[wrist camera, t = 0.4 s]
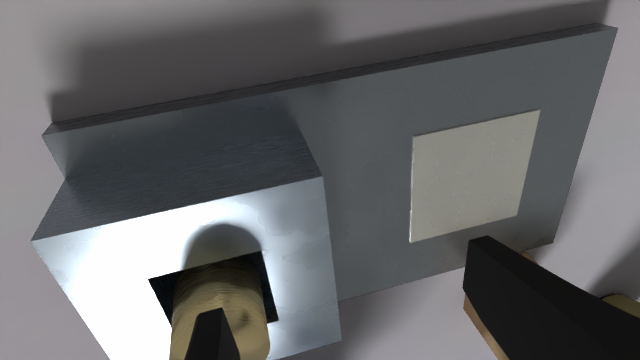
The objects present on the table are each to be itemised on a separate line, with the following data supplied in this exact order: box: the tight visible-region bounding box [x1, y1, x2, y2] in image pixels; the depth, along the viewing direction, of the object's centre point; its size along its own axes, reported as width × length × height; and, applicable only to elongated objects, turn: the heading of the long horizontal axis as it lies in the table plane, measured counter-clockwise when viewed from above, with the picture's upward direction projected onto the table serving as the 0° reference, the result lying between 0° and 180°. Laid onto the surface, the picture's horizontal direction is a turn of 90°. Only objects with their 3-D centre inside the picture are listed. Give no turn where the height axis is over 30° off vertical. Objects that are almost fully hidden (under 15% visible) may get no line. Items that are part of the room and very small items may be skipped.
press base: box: [30, 23, 618, 360], centre depth 20 cm, size 14×26×5 cm, turn 96°
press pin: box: [169, 257, 270, 360], centre depth 16 cm, size 4×4×3 cm
